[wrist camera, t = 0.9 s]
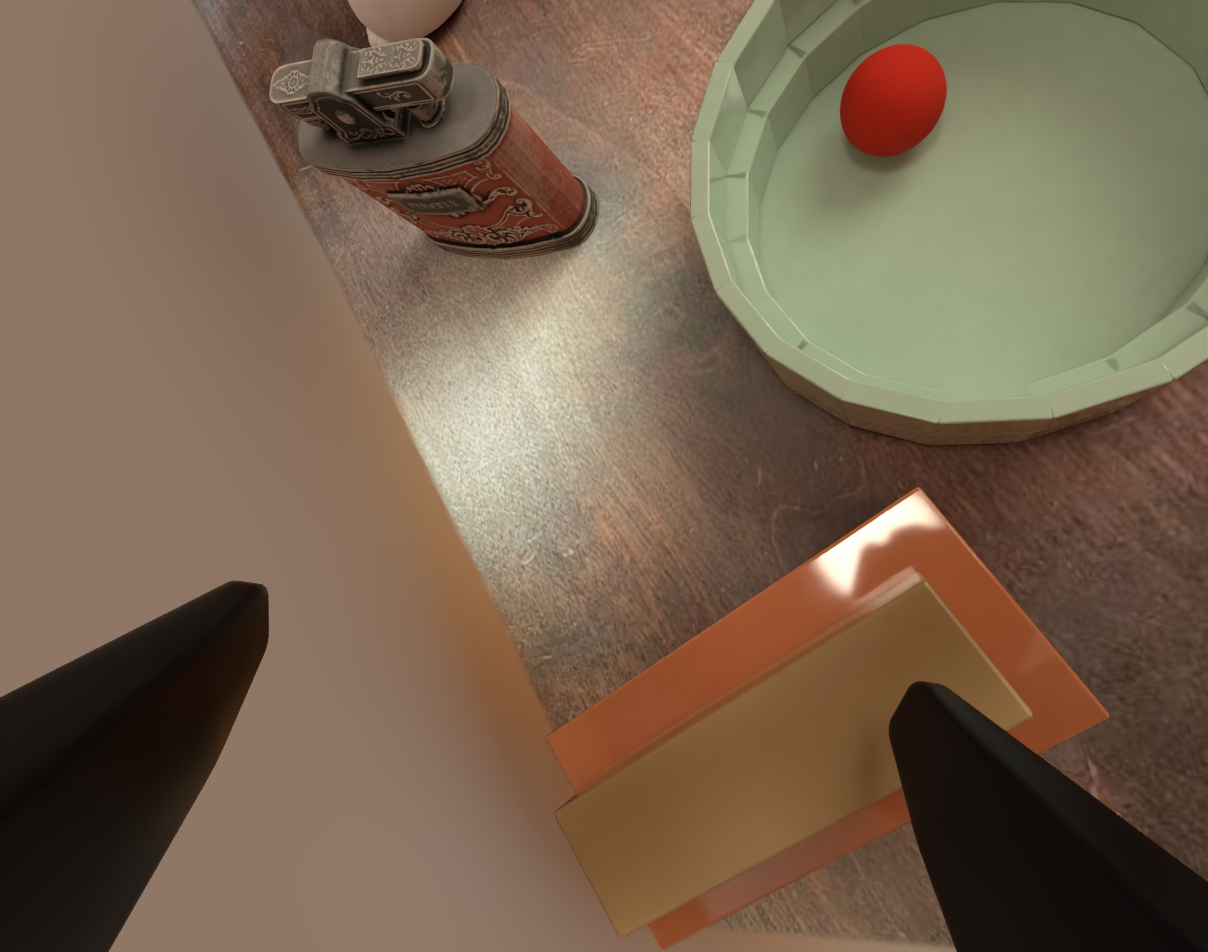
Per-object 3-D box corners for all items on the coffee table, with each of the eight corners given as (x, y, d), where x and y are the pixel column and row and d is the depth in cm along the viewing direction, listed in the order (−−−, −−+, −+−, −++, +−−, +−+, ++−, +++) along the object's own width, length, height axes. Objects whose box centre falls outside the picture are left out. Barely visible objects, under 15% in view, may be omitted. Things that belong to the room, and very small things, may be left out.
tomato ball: (964, 125, 21) (976, 63, 18) (881, 193, 22) (880, 144, 19) (901, 66, 22) (903, -2, 19) (823, 134, 22) (815, 78, 20)
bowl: (1436, 201, 17) (1644, 76, 12) (911, 542, 21) (919, 545, 16) (1013, -116, 21) (1047, -295, 17) (649, 216, 25) (597, 147, 21)
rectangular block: (1017, 639, 20) (1113, 717, 11) (744, 796, 22) (661, 952, 14) (905, 503, 21) (919, 485, 13) (662, 666, 24) (543, 738, 15)
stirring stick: (1006, 681, 12) (1036, 717, 10) (664, 872, 14) (619, 941, 12) (918, 569, 13) (925, 578, 10) (605, 769, 15) (551, 814, 12)
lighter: (429, 260, 29) (222, 137, 20) (439, 186, 29) (239, 30, 20) (592, 255, 26) (435, 107, 17) (603, 172, 26) (453, -20, 17)
